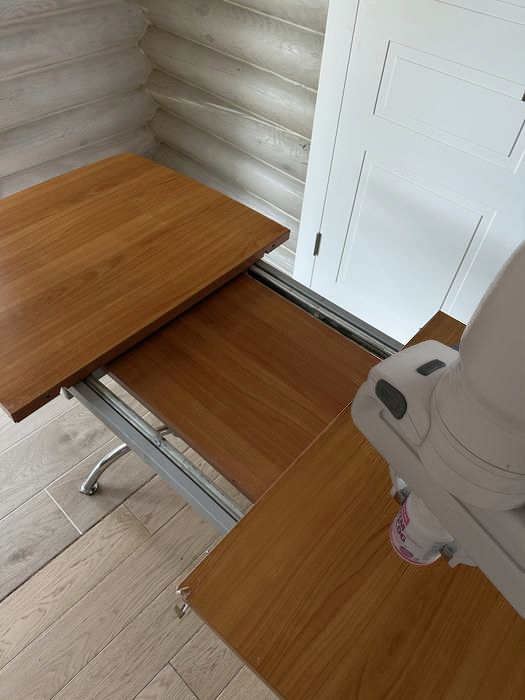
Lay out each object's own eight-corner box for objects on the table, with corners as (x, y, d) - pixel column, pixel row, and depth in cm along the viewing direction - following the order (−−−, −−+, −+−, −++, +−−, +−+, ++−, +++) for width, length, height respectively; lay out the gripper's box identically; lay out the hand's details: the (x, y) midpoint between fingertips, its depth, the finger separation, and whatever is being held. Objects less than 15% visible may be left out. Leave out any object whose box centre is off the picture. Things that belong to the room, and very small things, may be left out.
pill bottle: (378, 525, 47) (403, 481, 41) (420, 507, 49) (451, 462, 42) (407, 575, 44) (439, 536, 38) (451, 554, 46) (489, 513, 40)
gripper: (663, 547, 30) (548, 616, 40) (416, 325, 41) (376, 424, 51) (600, 608, 27) (495, 665, 37) (355, 354, 38) (325, 452, 48)
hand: (425, 525), depth 44 cm, fingers closed on pill bottle, 5 cm apart
